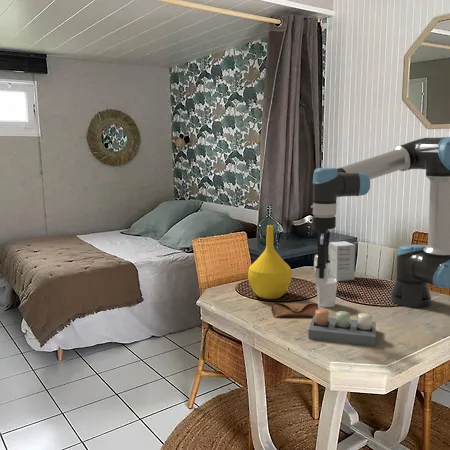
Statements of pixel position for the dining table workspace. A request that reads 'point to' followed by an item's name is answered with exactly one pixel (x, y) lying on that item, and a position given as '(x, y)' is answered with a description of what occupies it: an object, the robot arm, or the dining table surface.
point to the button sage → (343, 319)
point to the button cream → (364, 321)
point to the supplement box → (342, 260)
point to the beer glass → (317, 269)
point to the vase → (269, 272)
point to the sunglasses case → (294, 310)
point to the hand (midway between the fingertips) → (322, 284)
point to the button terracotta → (321, 317)
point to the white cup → (327, 293)
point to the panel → (342, 332)
